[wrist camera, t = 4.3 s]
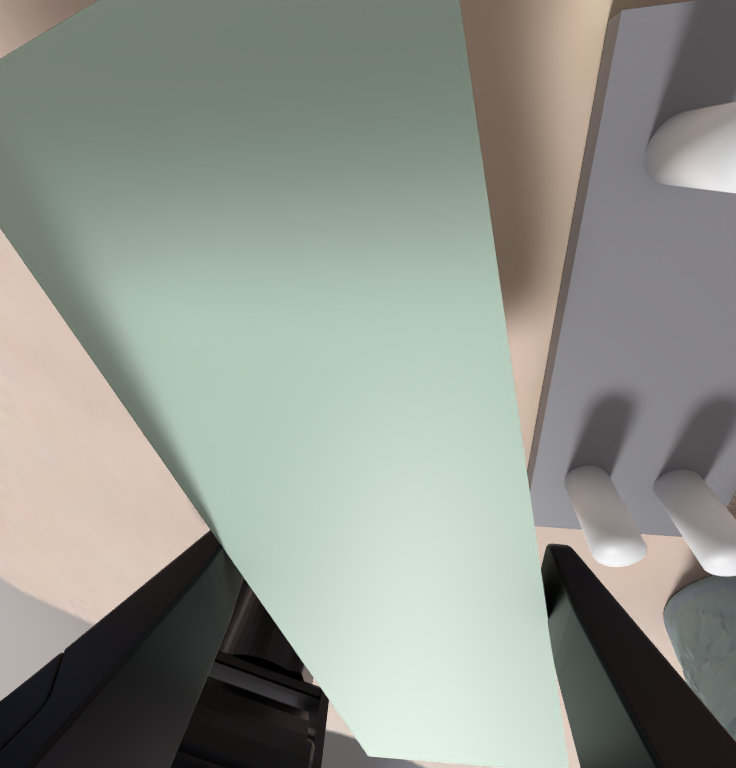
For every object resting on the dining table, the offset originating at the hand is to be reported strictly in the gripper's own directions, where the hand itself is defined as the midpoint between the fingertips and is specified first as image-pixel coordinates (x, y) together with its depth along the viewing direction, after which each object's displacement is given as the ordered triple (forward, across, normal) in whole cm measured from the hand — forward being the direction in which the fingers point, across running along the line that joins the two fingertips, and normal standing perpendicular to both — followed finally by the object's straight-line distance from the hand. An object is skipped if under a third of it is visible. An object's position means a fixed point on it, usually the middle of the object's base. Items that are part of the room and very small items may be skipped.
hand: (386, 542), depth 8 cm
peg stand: (+11, -10, 0) cm, 15 cm away
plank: (+2, 0, 0) cm, 2 cm away
